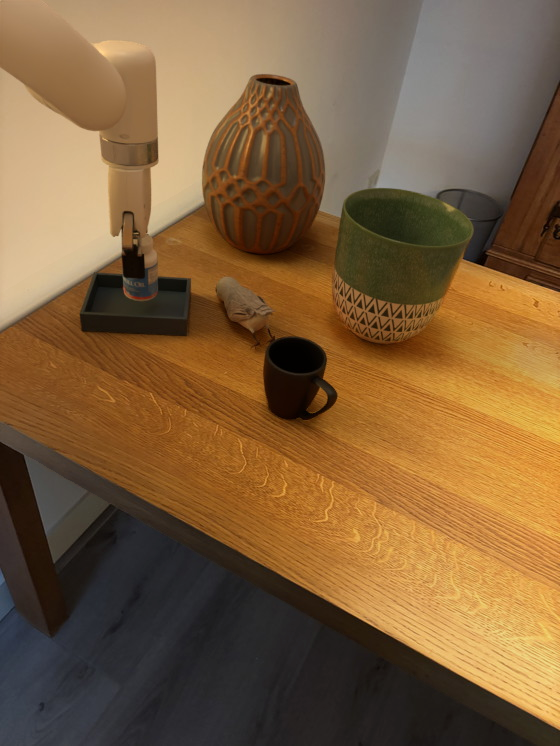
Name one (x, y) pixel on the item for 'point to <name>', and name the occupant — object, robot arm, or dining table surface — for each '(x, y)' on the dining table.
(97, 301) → the tray
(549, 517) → the dining table surface
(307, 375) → the mug
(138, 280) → the pill bottle
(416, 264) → the planter
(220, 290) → the decorative bird
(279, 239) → the vase
